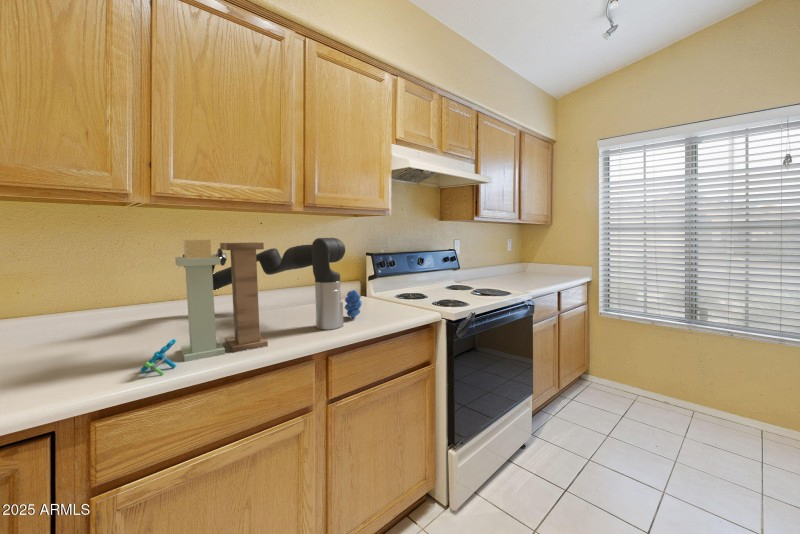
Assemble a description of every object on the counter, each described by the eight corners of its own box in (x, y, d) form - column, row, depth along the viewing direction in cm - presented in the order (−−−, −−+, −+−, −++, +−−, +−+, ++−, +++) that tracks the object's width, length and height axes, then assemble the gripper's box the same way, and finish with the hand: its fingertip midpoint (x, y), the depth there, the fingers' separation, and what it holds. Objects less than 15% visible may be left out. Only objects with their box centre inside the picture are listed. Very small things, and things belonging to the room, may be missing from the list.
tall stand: (225, 342, 112) (219, 242, 109) (257, 337, 117) (253, 242, 115) (232, 352, 102) (227, 243, 99) (267, 346, 108) (263, 242, 105)
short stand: (181, 350, 104) (175, 257, 102) (218, 343, 110) (213, 255, 108) (184, 361, 95) (178, 259, 92) (225, 354, 101) (220, 257, 98)
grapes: (369, 319, 142) (369, 290, 141) (355, 321, 138) (354, 291, 137) (355, 314, 152) (354, 286, 150) (341, 316, 147) (340, 288, 146)
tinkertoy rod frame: (154, 356, 94) (178, 331, 93) (172, 370, 95) (196, 345, 95) (127, 378, 83) (154, 350, 82) (148, 393, 85) (175, 365, 84)
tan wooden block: (180, 255, 111) (179, 240, 111) (202, 255, 115) (201, 239, 115) (186, 258, 94) (185, 240, 94) (211, 257, 98) (210, 239, 98)
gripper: (223, 277, 141) (229, 259, 129) (182, 280, 133) (184, 260, 121) (221, 261, 144) (226, 241, 132) (181, 262, 136) (182, 242, 124)
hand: (206, 250), depth 126 cm, fingers open, 8 cm apart
